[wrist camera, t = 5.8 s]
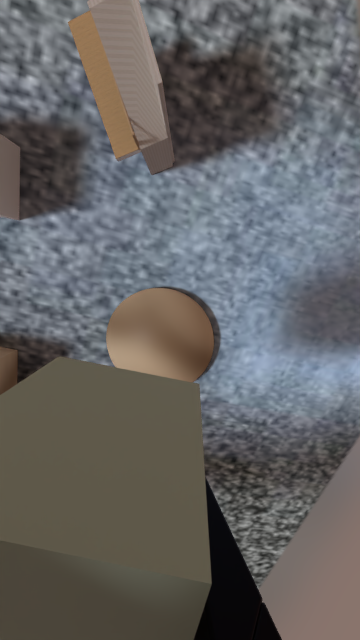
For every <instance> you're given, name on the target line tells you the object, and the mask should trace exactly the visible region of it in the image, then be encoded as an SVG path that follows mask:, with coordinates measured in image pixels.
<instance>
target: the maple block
mask: <svg viewBox="0 0 360 640" xmlns="http://www.w3.org/2000/svg"><path fill="white" fill-rule="evenodd" d="M17 367H18V350H14V349H9V348H4V347H0V395H1V394H3V393H4V392H6V391H7V390H9V389H10V388H12V387H13V386H15V385H16V384H17Z"/></svg>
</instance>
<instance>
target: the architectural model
mask: <svg viewBox="0 0 360 640" xmlns="http://www.w3.org/2000/svg"><path fill="white" fill-rule="evenodd" d="M87 3H88V6H89V9H90V11H88V12H86V13H84V14H83V15H81V16H79V17H77V18H75V19H73V20H71V21H69V22H68V24H69V26H70V29H71V32H72V35H73V38H74V41H75V43H76V46H77V49H78V52H79V55H80V58H81V60H82V63H83V66H84V69H85V72H86V75H87V77H88V80H89V83H90V86H91V89H92V92H93V95H94V97H95V100H96V103H97V106H98V109H99V112H100V114H101V117H102V120H103V123H104V126H105V129H106V131H107V134H108V137H109V140H110V143H111V146H112V148H113V151H114V154H115V157H116V159H117V161H121V160H123V159H125V158H128V157H130V156H133V155H135V154H137V153H140V152H142V154H143V156H144V159H145V161H146V163H147V166H148V168H149V170H150V173H151V175H153V174H155V173H158V172H160V171H163V170H165V169H168V168H170V167H173V162H175V159H174V153H173V146H172V140H171V133H170V127H169V121H168V114H167V108H166V101H165V95H164V89H163V82H162V79H161V75H160V72H159V68H158V65H157V62H156V58H155V55H154V51H153V48H152V45H151V41H150V38H149V34H148V31H147V27H146V24H145V21H144V17H143V14H142V10H141V7H140V4H139V0H89V1H87Z"/></svg>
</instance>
